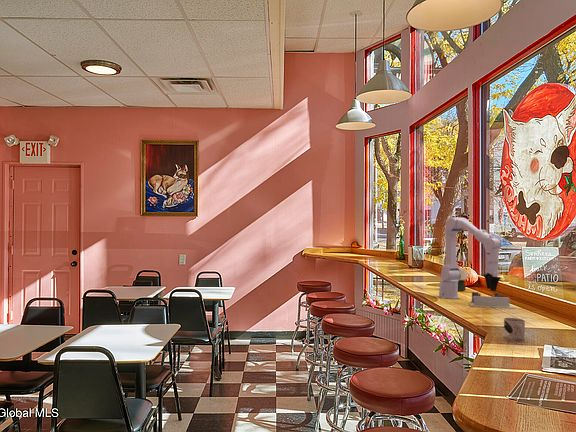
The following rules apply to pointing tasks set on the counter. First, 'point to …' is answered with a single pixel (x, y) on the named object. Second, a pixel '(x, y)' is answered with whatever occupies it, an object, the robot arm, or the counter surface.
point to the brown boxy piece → (475, 295)
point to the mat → (491, 306)
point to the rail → (492, 301)
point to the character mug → (463, 277)
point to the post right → (498, 295)
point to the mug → (514, 329)
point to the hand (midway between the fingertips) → (491, 289)
